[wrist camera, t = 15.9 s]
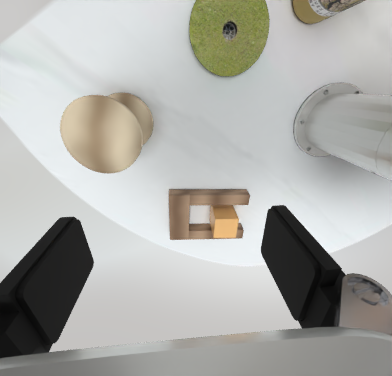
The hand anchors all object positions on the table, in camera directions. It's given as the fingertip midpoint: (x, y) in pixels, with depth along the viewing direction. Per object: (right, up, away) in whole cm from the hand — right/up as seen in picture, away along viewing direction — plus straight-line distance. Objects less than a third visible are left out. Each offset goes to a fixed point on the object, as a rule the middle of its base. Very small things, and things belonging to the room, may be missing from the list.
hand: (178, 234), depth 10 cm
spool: (-11, +14, +24) cm, 29 cm away
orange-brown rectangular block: (+6, -3, +34) cm, 34 cm away
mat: (+5, +25, +19) cm, 32 cm away
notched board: (+3, -3, +33) cm, 34 cm away
